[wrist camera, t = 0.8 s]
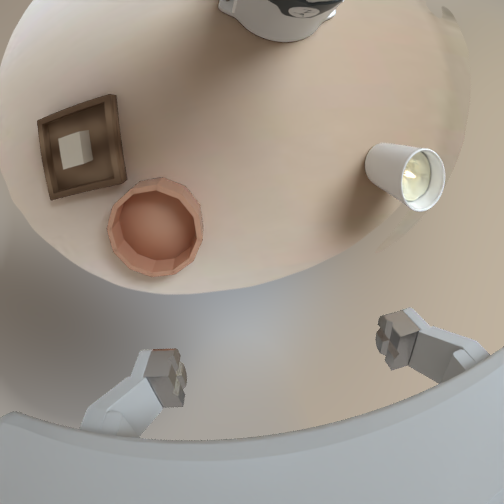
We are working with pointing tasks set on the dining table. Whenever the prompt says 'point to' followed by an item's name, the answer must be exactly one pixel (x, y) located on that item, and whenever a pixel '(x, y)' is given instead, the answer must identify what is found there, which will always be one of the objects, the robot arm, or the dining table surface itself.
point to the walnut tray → (102, 145)
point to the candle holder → (407, 174)
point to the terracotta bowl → (156, 227)
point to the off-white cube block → (75, 149)
